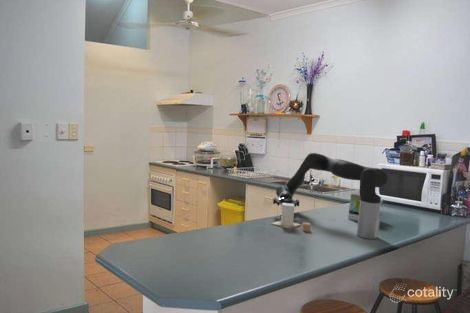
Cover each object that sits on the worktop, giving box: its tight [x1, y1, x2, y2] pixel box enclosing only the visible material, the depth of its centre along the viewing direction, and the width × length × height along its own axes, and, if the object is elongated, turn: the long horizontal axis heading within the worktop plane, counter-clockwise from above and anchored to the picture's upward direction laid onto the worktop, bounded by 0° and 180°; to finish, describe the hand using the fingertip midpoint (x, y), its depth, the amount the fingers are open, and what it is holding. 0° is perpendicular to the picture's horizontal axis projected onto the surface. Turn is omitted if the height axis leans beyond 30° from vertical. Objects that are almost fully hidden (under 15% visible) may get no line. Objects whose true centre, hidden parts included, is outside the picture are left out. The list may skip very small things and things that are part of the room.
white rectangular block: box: [280, 203, 296, 226], centre depth 205 cm, size 6×6×10 cm
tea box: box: [347, 191, 361, 222], centre depth 232 cm, size 15×10×15 cm, turn 143°
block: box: [301, 221, 311, 233], centre depth 198 cm, size 4×4×4 cm
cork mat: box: [271, 219, 302, 230], centre depth 206 cm, size 11×11×1 cm
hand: (286, 204), depth 216 cm, fingers open, 8 cm apart
